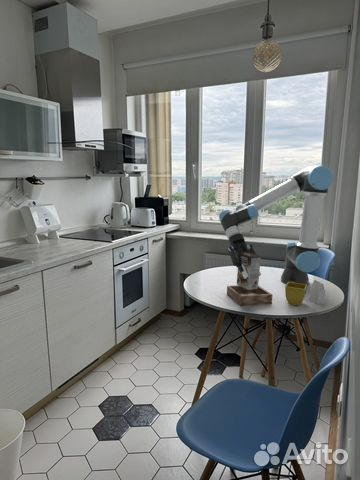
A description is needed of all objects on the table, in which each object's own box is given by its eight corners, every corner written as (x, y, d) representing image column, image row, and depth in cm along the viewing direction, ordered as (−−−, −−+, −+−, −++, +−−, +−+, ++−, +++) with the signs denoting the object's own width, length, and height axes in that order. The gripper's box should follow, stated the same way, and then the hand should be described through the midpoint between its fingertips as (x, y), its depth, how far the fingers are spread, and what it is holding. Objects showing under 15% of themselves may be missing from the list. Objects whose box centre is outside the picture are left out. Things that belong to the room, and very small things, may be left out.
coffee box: (236, 284, 161) (238, 252, 158) (246, 282, 164) (248, 251, 161) (248, 290, 153) (250, 256, 150) (258, 288, 156) (261, 255, 153)
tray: (255, 292, 169) (256, 283, 168) (271, 303, 154) (272, 294, 153) (226, 294, 165) (227, 285, 164) (240, 306, 150) (240, 297, 149)
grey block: (317, 304, 154) (319, 284, 152) (309, 299, 161) (311, 279, 159) (324, 304, 155) (326, 283, 153) (315, 298, 161) (317, 279, 160)
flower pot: (286, 298, 161) (288, 281, 159) (305, 302, 157) (307, 284, 155) (283, 304, 153) (285, 286, 151) (303, 308, 149) (305, 289, 147)
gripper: (247, 240, 172) (265, 278, 161) (215, 242, 164) (231, 282, 153) (254, 231, 167) (273, 270, 155) (221, 233, 159) (239, 275, 147)
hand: (252, 276), depth 154 cm, fingers closed on coffee box, 7 cm apart
